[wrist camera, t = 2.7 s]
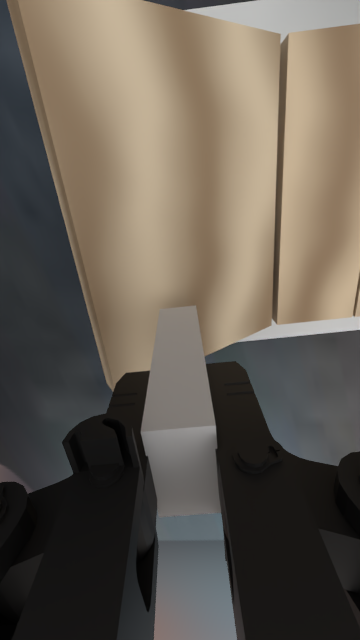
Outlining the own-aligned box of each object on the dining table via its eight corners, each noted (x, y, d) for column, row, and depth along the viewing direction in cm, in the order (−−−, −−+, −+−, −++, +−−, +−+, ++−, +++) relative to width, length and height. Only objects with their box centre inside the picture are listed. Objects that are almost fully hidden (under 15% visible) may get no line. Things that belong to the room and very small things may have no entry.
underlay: (102, 353, 23) (101, 355, 23) (20, 35, 15) (18, 32, 15) (408, 322, 23) (411, 324, 22) (497, -29, 14) (503, -33, 14)
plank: (106, 382, 16) (116, 396, 15) (6, 0, 10) (9, -32, 8) (255, 319, 22) (271, 325, 20) (256, 48, 15) (280, 33, 14)
